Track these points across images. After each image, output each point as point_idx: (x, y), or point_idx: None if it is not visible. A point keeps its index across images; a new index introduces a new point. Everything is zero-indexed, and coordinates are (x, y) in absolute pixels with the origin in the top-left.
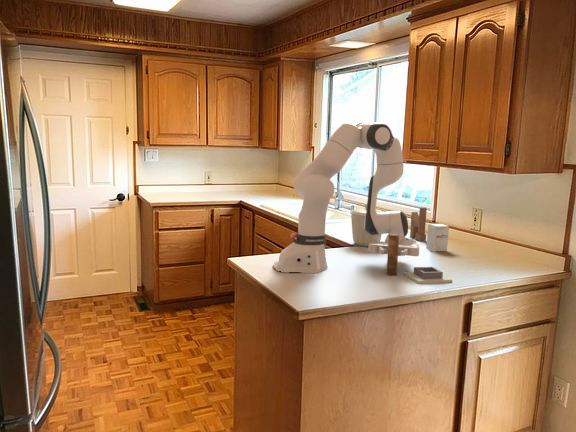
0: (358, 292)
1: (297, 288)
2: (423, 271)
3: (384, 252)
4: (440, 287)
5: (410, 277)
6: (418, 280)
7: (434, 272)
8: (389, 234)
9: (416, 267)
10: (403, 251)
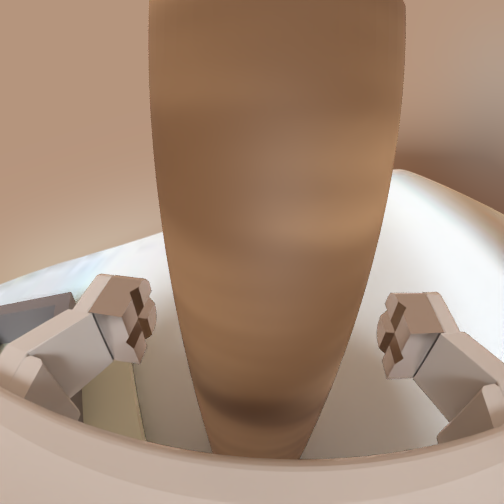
0: None
1: (480, 219)
2: (55, 313)
3: (383, 323)
4: (59, 277)
5: (131, 369)
6: None
7: (13, 303)
8: (399, 6)
9: None
10: (115, 275)
